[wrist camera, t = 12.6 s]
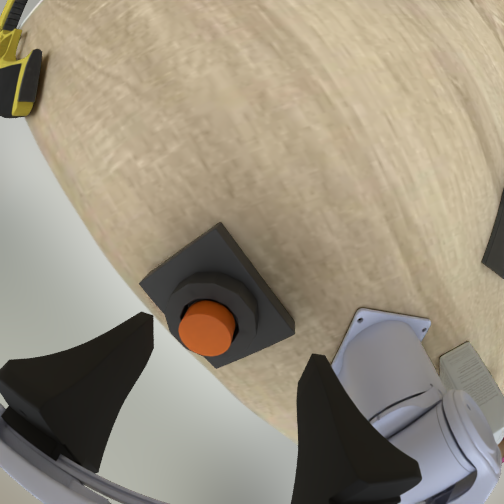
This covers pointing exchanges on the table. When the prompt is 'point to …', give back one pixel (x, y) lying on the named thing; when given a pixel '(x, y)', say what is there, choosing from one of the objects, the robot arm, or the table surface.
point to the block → (220, 293)
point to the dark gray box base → (496, 244)
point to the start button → (207, 328)
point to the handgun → (16, 66)
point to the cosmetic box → (474, 384)
